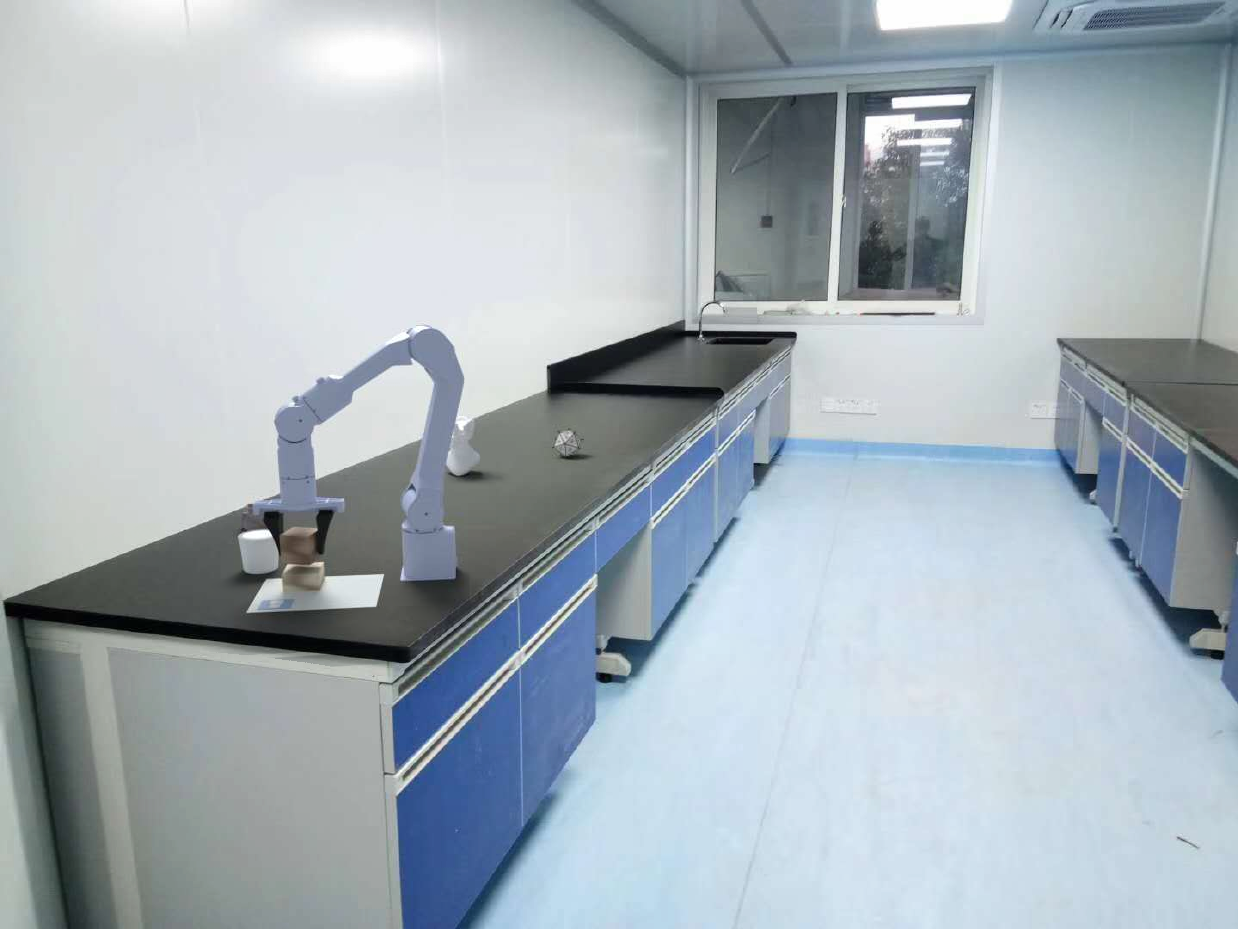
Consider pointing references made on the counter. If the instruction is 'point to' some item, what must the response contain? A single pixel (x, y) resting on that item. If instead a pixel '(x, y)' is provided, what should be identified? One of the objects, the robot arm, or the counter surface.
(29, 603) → the counter surface
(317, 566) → the maple base block
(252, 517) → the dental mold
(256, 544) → the white tapered cup
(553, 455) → the counter surface
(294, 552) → the walnut block
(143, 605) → the counter surface
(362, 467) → the counter surface
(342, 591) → the plate
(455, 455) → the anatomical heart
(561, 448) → the game die
